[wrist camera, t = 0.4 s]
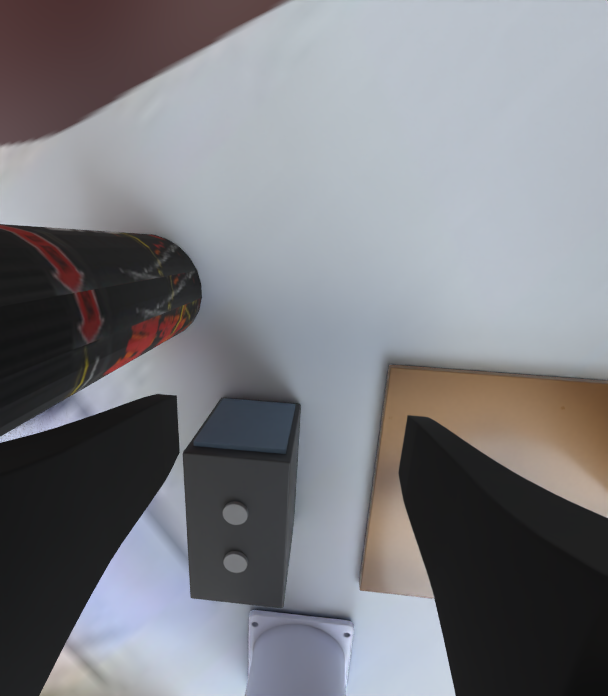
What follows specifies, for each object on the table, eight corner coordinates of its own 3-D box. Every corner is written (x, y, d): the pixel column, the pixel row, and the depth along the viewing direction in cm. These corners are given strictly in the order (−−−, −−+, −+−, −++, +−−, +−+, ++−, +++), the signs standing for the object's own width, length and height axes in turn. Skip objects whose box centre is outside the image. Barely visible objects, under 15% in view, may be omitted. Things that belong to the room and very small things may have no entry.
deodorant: (174, 217, 18) (-383, 112, 4) (218, 319, 20) (-73, 512, 5) (82, 256, 19) (-635, 283, 5) (130, 350, 21) (-312, 584, 6)
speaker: (294, 521, 24) (282, 613, 18) (223, 514, 24) (188, 602, 18) (301, 399, 21) (290, 460, 15) (221, 393, 21) (179, 450, 15)
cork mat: (615, 610, 24) (622, 619, 23) (359, 583, 25) (359, 591, 24) (713, 388, 19) (725, 392, 18) (388, 364, 20) (390, 367, 19)
